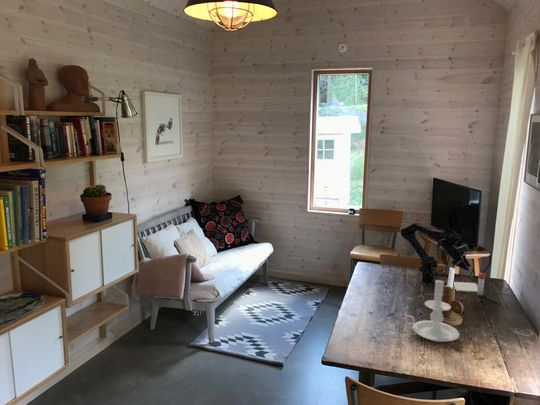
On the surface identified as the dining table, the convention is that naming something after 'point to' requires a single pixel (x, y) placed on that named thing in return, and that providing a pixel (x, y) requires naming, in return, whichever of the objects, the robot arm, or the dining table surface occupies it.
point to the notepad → (465, 287)
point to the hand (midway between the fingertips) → (469, 268)
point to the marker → (480, 284)
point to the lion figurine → (442, 266)
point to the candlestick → (435, 319)
